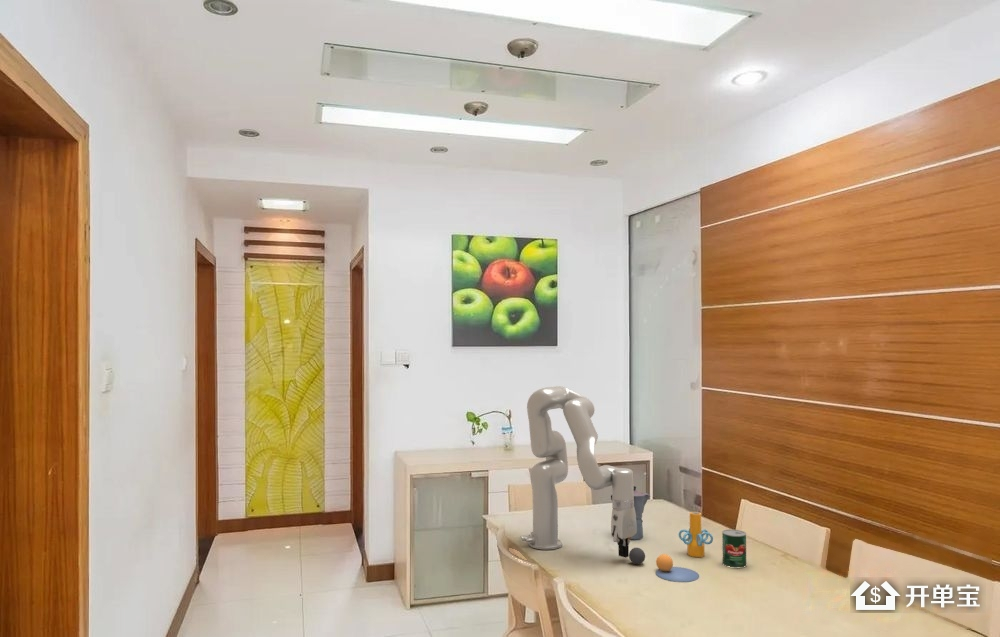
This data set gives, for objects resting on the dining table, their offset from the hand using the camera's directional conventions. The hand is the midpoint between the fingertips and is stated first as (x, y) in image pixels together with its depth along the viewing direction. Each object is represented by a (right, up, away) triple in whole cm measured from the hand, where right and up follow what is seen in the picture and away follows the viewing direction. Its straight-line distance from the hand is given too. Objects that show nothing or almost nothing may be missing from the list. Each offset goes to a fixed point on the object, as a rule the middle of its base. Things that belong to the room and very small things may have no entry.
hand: (623, 556), depth 239 cm
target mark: (+15, -1, -15) cm, 21 cm away
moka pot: (+8, -3, +28) cm, 29 cm away
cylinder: (+27, -2, +6) cm, 28 cm away
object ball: (+12, +2, -11) cm, 16 cm away
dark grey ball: (+4, +1, -4) cm, 6 cm away
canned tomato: (+38, -1, -5) cm, 38 cm away
